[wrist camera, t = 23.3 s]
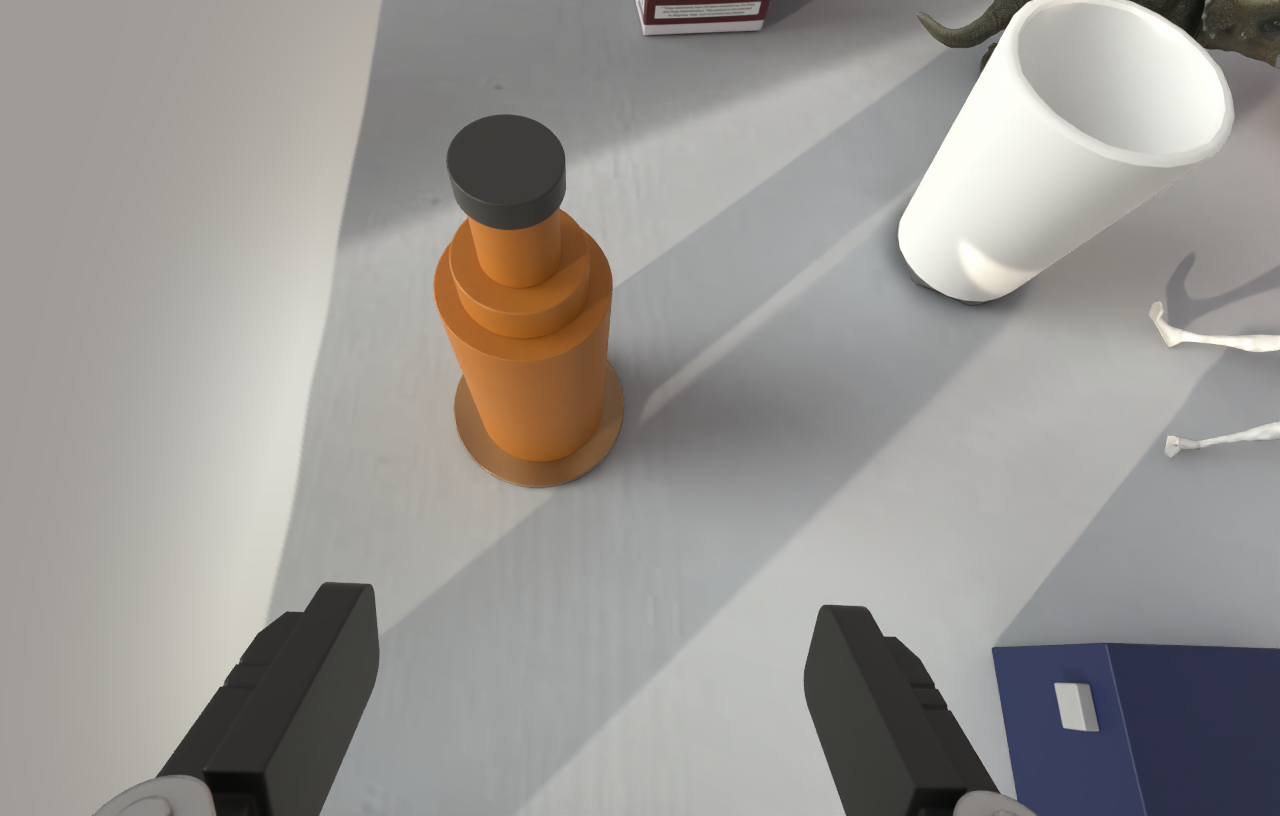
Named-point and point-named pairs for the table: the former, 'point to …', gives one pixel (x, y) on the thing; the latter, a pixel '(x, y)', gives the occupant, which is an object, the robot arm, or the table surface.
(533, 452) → the bottle
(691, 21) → the supplement box
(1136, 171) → the cup
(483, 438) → the coaster
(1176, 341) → the figurine
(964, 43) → the toy dinosaur
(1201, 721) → the case
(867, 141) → the table surface
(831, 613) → the robot arm
